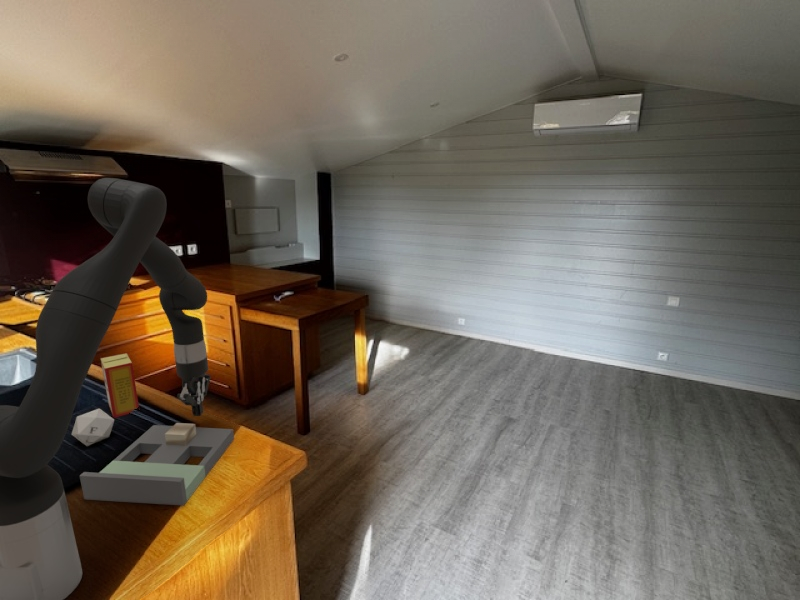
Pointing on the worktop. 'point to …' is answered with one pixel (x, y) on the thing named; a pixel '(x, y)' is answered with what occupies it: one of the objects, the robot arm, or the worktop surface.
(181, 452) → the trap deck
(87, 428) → the die
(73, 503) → the worktop surface
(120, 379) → the baking soda box
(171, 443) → the birch block
